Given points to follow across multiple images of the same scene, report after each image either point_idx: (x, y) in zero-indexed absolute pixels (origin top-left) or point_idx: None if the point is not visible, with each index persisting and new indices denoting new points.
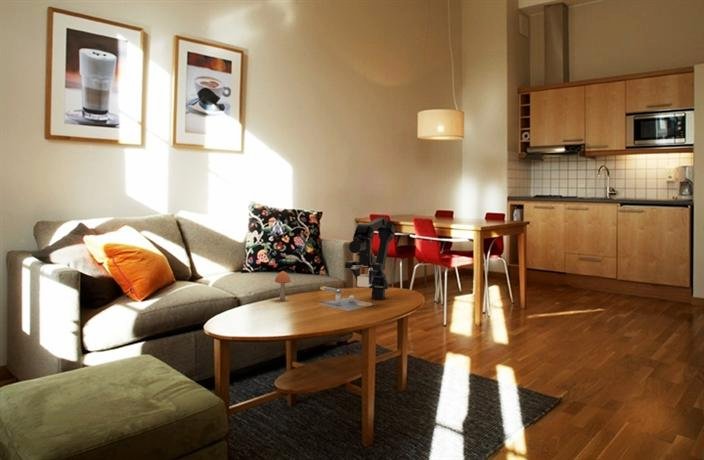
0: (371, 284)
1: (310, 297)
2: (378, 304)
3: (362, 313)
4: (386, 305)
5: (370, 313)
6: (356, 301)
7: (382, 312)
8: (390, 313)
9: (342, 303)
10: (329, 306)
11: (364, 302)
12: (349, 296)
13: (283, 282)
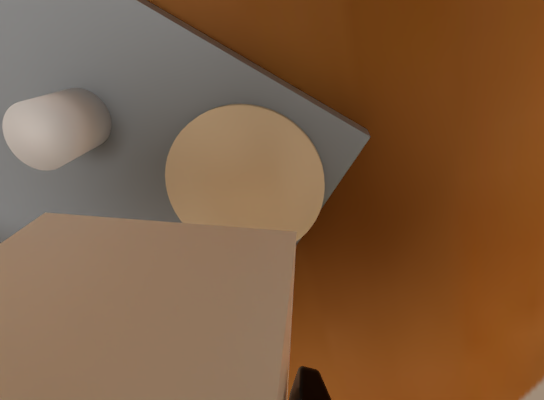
0: (295, 243)
1: None
2: (377, 5)
3: (293, 369)
4: (485, 32)
5: (352, 361)
6: (113, 65)
7: (449, 322)
8: (522, 339)
9: (32, 196)
10: None
11: (228, 136)
12: (25, 162)
13: None
